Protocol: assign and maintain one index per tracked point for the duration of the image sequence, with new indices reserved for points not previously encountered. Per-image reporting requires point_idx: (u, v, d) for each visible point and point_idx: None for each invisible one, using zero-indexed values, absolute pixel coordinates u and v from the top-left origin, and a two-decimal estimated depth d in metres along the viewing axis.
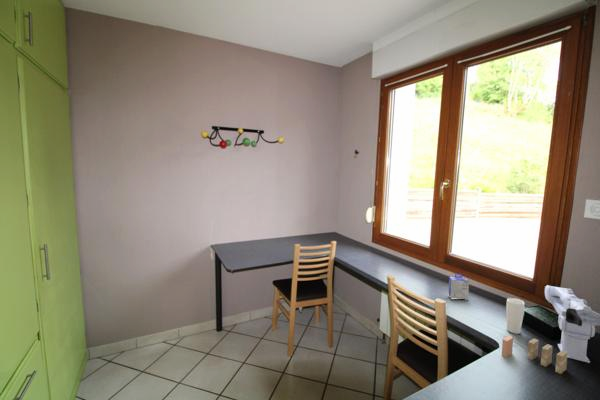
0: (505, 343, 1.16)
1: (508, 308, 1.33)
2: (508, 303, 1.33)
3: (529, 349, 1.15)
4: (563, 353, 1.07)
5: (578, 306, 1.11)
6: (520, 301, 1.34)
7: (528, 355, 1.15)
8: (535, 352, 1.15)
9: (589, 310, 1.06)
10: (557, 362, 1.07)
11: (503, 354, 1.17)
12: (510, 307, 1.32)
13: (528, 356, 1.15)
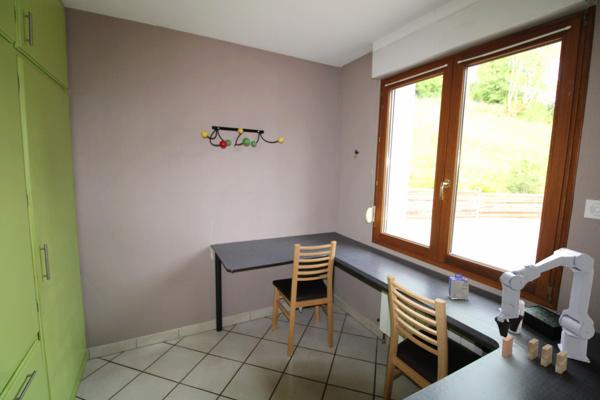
0: (505, 343, 1.16)
1: None
2: None
3: (529, 349, 1.15)
4: (563, 353, 1.07)
5: None
6: (520, 301, 1.34)
7: (528, 355, 1.15)
8: (535, 352, 1.15)
9: None
10: (557, 362, 1.07)
11: (503, 354, 1.17)
12: None
13: (528, 356, 1.15)
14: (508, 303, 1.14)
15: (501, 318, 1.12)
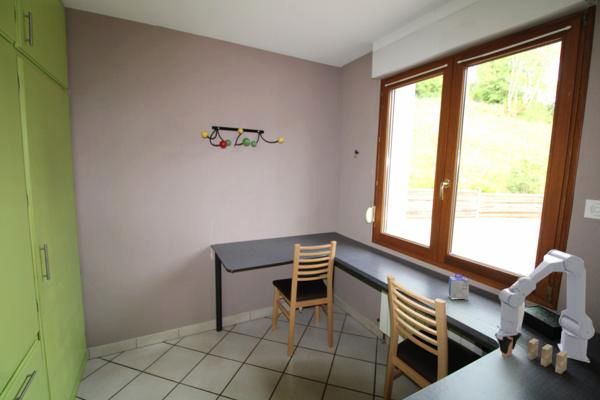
0: None
1: None
2: None
3: (529, 349, 1.15)
4: (563, 353, 1.07)
5: None
6: None
7: (528, 355, 1.15)
8: (535, 352, 1.15)
9: None
10: (557, 362, 1.07)
11: (503, 354, 1.17)
12: None
13: (528, 356, 1.15)
14: (507, 320, 1.14)
15: (500, 336, 1.13)
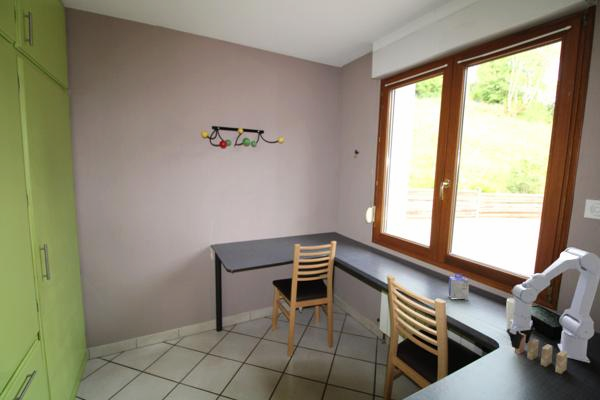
0: None
1: (508, 308, 1.33)
2: (508, 303, 1.33)
3: (529, 349, 1.15)
4: (563, 353, 1.07)
5: None
6: None
7: (528, 355, 1.15)
8: (535, 352, 1.15)
9: None
10: (557, 362, 1.07)
11: (516, 351, 1.19)
12: (510, 307, 1.32)
13: (528, 356, 1.15)
14: (519, 315, 1.17)
15: (513, 330, 1.15)
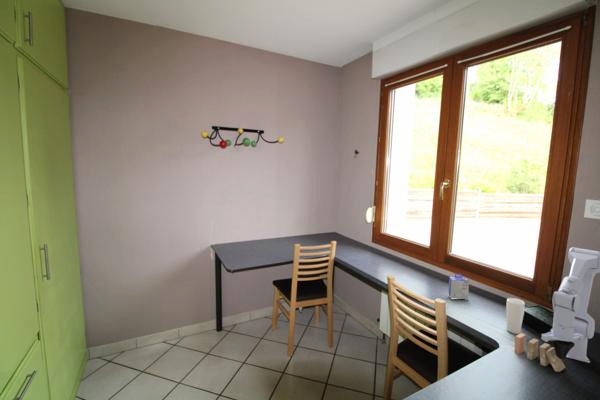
0: (518, 340, 1.18)
1: (508, 308, 1.33)
2: (508, 303, 1.33)
3: (529, 349, 1.15)
4: (550, 349, 1.11)
5: None
6: (520, 301, 1.34)
7: (528, 355, 1.15)
8: (535, 352, 1.15)
9: None
10: (550, 360, 1.09)
11: (516, 351, 1.19)
12: (510, 307, 1.32)
13: (528, 356, 1.15)
14: (568, 326, 1.04)
15: (545, 337, 1.06)
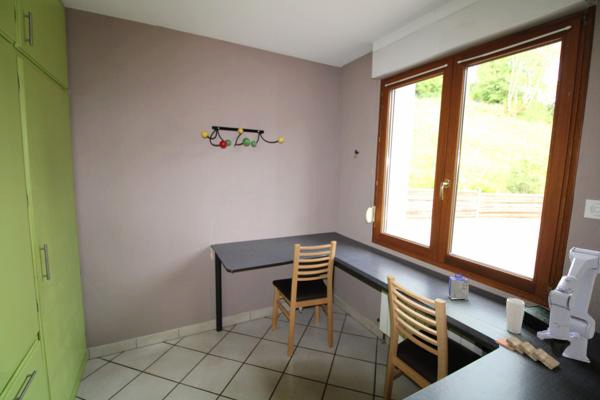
0: (498, 343, 1.25)
1: (508, 308, 1.33)
2: (508, 303, 1.33)
3: (512, 345, 1.21)
4: None
5: None
6: (520, 301, 1.34)
7: (519, 351, 1.18)
8: None
9: None
10: (540, 359, 1.12)
11: (511, 350, 1.20)
12: (510, 307, 1.32)
13: (520, 351, 1.18)
14: (563, 325, 1.05)
15: (540, 335, 1.08)
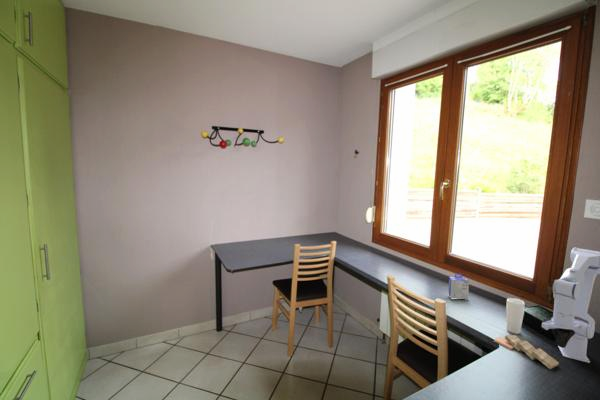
0: (497, 342, 1.26)
1: (508, 308, 1.33)
2: (508, 303, 1.33)
3: (510, 342, 1.23)
4: None
5: None
6: (520, 301, 1.34)
7: (516, 348, 1.20)
8: None
9: None
10: (539, 359, 1.12)
11: None
12: (510, 307, 1.32)
13: (517, 348, 1.20)
14: (568, 314, 1.04)
15: (545, 325, 1.06)
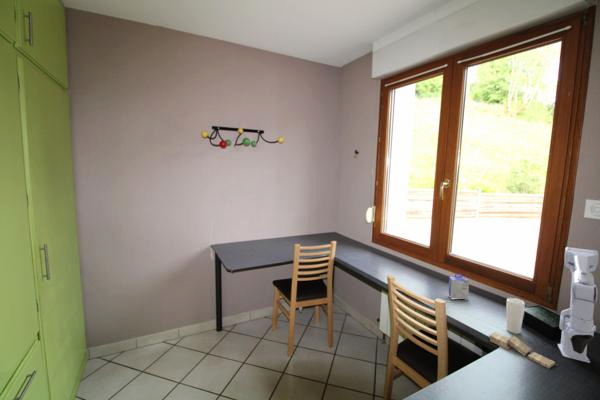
0: (493, 341, 1.26)
1: (508, 308, 1.33)
2: (508, 303, 1.33)
3: (496, 340, 1.25)
4: None
5: None
6: (520, 301, 1.34)
7: (503, 344, 1.23)
8: (504, 338, 1.25)
9: None
10: None
11: (506, 348, 1.22)
12: (510, 307, 1.32)
13: (504, 344, 1.22)
14: (589, 319, 1.00)
15: (568, 333, 1.01)
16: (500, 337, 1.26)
